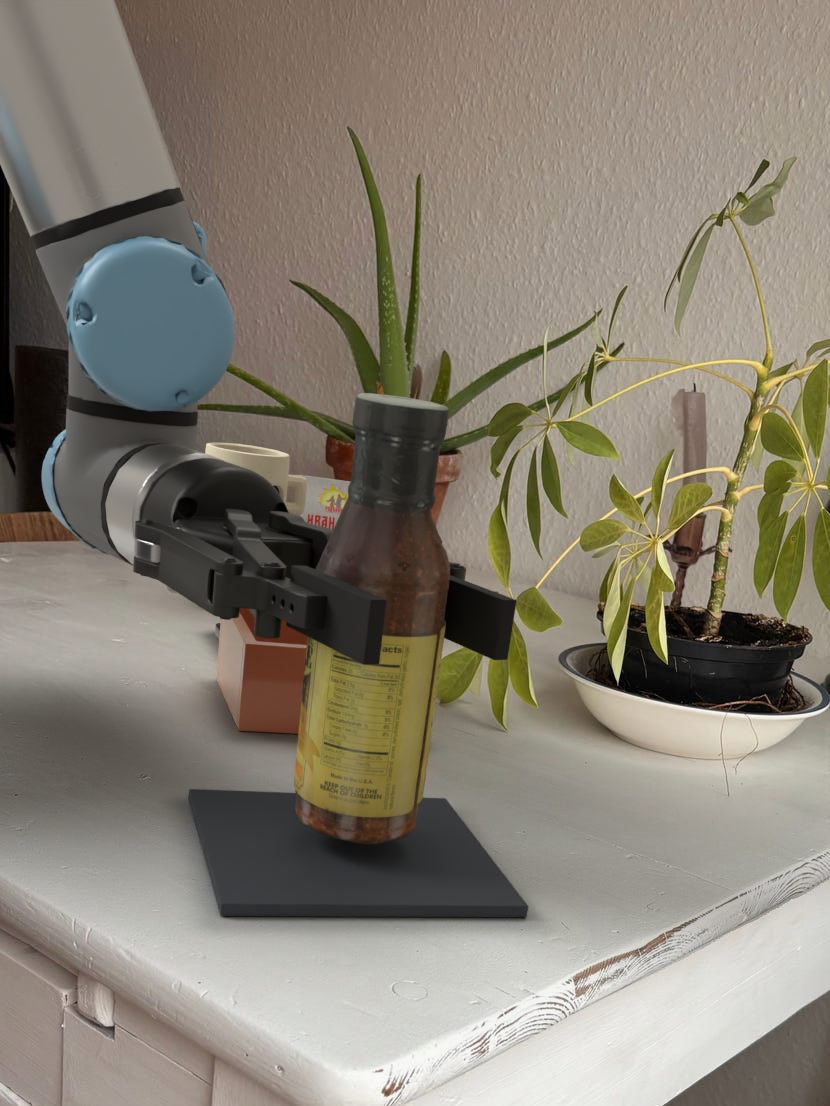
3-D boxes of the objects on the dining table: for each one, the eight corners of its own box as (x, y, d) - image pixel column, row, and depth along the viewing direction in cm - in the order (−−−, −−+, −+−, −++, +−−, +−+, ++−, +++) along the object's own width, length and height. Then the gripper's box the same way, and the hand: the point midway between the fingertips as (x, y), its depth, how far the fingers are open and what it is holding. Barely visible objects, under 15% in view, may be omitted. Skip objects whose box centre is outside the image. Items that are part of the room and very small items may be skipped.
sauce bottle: (334, 793, 67) (382, 390, 59) (440, 827, 64) (503, 413, 57) (260, 824, 61) (304, 383, 54) (373, 863, 59) (435, 408, 51)
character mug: (184, 607, 108) (194, 447, 103) (165, 588, 114) (174, 436, 109) (307, 614, 113) (323, 461, 108) (283, 595, 119) (297, 450, 114)
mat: (220, 916, 55) (221, 903, 54) (187, 799, 67) (188, 788, 67) (526, 917, 59) (528, 905, 59) (444, 808, 72) (445, 797, 71)
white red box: (287, 575, 128) (296, 472, 124) (354, 583, 130) (366, 481, 126) (288, 582, 125) (298, 476, 121) (357, 590, 126) (369, 486, 123)
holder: (238, 731, 79) (245, 643, 77) (216, 679, 89) (221, 600, 87) (419, 740, 83) (430, 657, 81) (378, 689, 93) (387, 614, 91)
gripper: (341, 594, 78) (592, 704, 62) (26, 592, 67) (234, 728, 50) (354, 467, 76) (620, 548, 59) (29, 443, 64) (248, 535, 48)
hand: (442, 631), depth 55 cm, fingers closed on sauce bottle, 6 cm apart
